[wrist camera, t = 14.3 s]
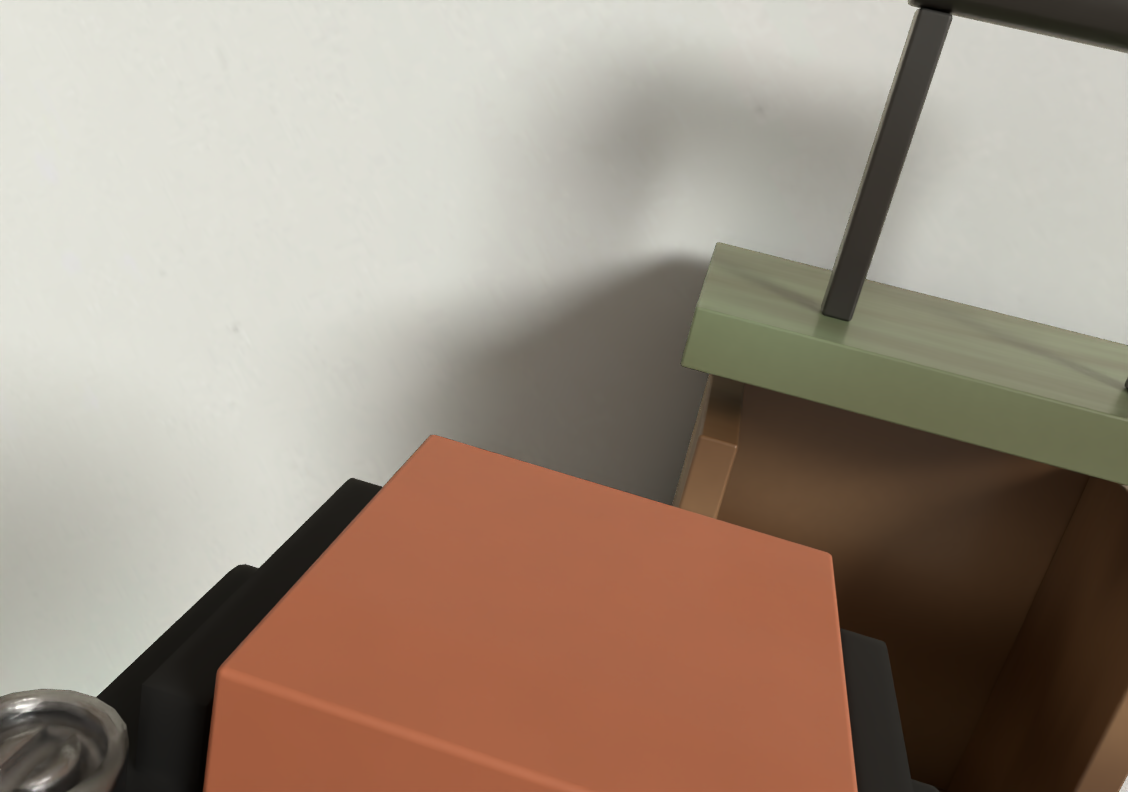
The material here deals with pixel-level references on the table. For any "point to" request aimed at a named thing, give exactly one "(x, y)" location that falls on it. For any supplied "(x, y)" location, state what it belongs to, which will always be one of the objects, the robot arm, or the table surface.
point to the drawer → (936, 468)
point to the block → (538, 648)
